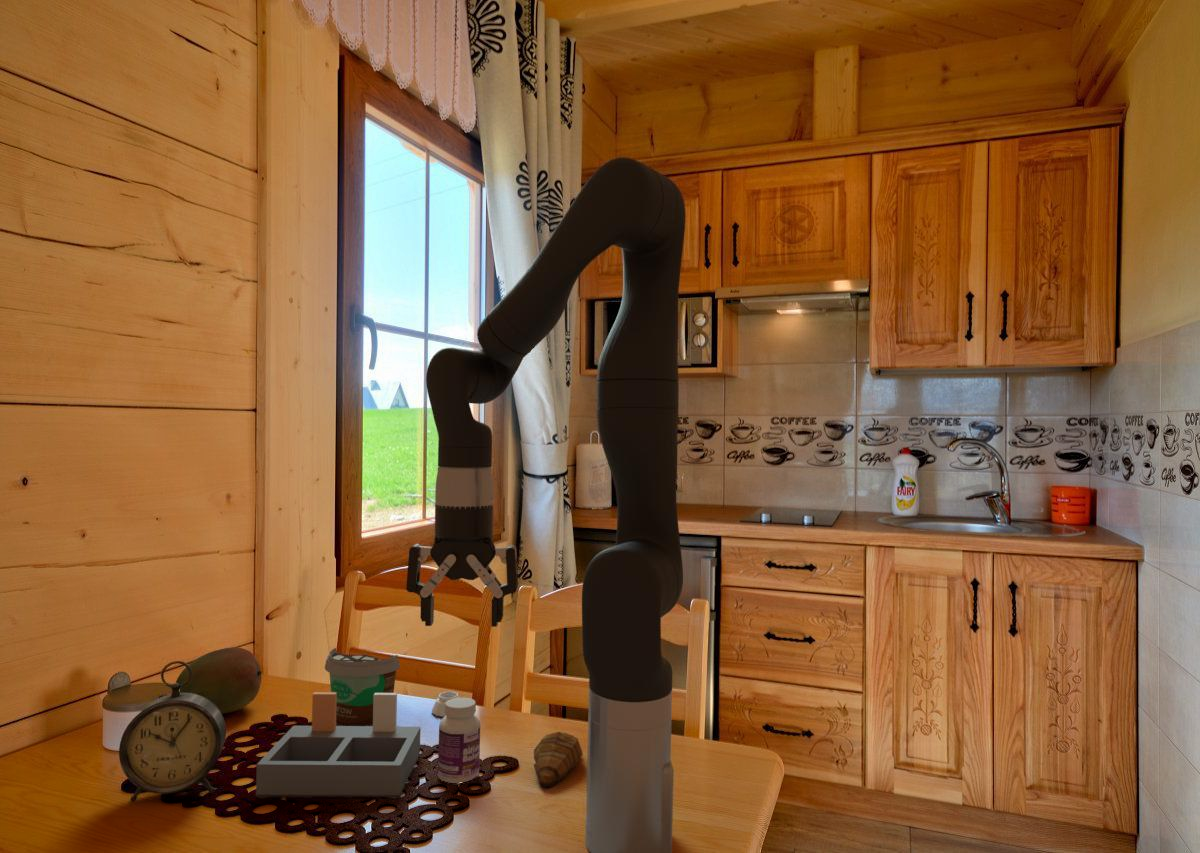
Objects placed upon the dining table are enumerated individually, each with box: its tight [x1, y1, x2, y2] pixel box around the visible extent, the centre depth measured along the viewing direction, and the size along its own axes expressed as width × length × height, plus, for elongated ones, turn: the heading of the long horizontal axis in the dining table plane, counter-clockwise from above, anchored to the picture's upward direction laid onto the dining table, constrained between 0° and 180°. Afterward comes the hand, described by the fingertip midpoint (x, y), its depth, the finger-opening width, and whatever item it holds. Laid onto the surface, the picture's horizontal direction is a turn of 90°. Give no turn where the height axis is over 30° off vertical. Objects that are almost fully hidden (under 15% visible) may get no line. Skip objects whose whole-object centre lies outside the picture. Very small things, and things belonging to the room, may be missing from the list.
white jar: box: [431, 691, 460, 718], centre depth 120 cm, size 5×3×5 cm
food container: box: [324, 647, 401, 726], centre depth 116 cm, size 12×6×10 cm, turn 73°
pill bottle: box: [437, 697, 481, 784], centre depth 98 cm, size 5×5×10 cm
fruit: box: [175, 646, 263, 715], centre depth 118 cm, size 12×12×10 cm
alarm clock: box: [118, 660, 227, 802], centre depth 92 cm, size 11×5×16 cm, turn 105°
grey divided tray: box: [255, 691, 421, 799], centre depth 98 cm, size 17×12×9 cm
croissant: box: [533, 731, 584, 788], centre depth 102 cm, size 14×7×5 cm, turn 170°
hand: (462, 625), depth 98 cm, fingers open, 8 cm apart
